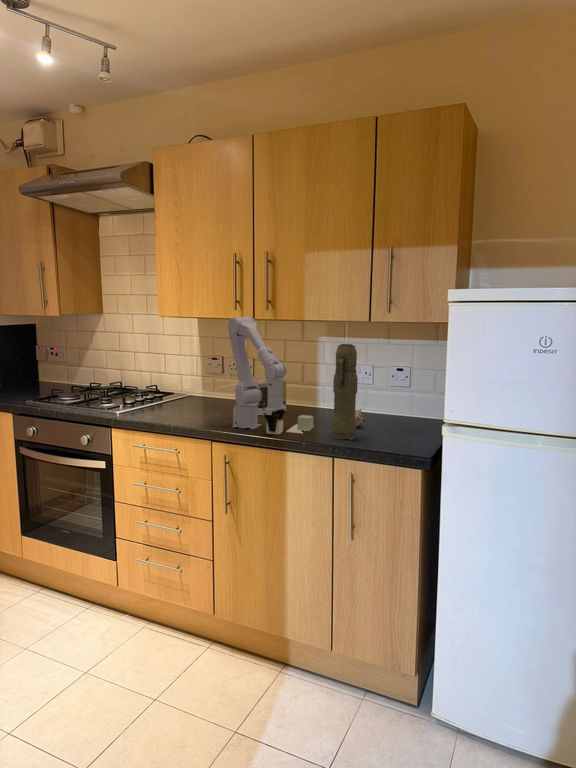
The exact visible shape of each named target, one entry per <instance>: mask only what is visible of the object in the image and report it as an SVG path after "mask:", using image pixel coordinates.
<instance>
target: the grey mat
mask: <svg viewBox="0 0 576 768" xmlns="http://www.w3.org/2000/svg"><path fill="white" fill-rule="evenodd" d="M301 431H303V430H298V423H296V424H294V425H293V426H291V427H290V428H289V429H287V430H286V431H285V433H291V434H292V433H294V434H303V432H301Z"/></svg>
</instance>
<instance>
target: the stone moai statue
mask: <svg viewBox="0 0 576 768" xmlns="http://www.w3.org/2000/svg"><path fill="white" fill-rule="evenodd" d="M356 348H357V347H356V346H355V345H353V344H351V343H341V344H339V345H337V348H336V351H335V371H334V372H335V373H334V375H333V388H332V389H333V394H334V395H333V396H334V397H333V398H334V399H333V404H334V405H333V418H332V421H331V422H332V423H331V432H332V433H331V434H332V435H333V437H336V438H343V439H348V438H354V437H355V438H356V433H357V429H356V428H357V427H356V419H355V410H356V402H357V401H356V399H357V398H356V397H357V393H358V383H359V382H358V380H359V379H358V375H357V359H358V357H357V356H358V355H357V354H358V353H357V352H358V351H357V349H356Z"/></svg>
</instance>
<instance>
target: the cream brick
mask: <svg viewBox="0 0 576 768" xmlns="http://www.w3.org/2000/svg"><path fill="white" fill-rule="evenodd" d="M265 428H266V431H265V432H266V434H267V435H280V434H282V433H283V432H284V420H283V419H282V420H278V419H277V424H276V430H275V432H271V431H269V427H268V423H267V421H266V427H265Z"/></svg>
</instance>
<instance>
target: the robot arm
mask: <svg viewBox="0 0 576 768" xmlns="http://www.w3.org/2000/svg"><path fill="white" fill-rule="evenodd" d="M226 325H227V330H228V335H229V341H230V342H229V343H230V346H231V351H232V355H233V360H234V364H235V365H234V366H235V368H236V369H235V370H236V374H237V378H238V383H237V385H236V386H235V388H234V392H235V395H234V397H235V402H236V403H235V405H234V406H233V410H232V428H235V427H239V428H238V429H245V428H250V429H249V430H254V429H257V428H258V427H260V426H261V425H262V424H261V423H258V417H259V416H258V405H259V402H260V401H261V399H262V393H261V390H260V389H259V386H258V384H257V383H256V382H255V381H256V380H254V379H253V377H252V372H251V365H250V362H249V358H248V353H247V347H246V345H245V341H246V340H247V339H249V341H250V342H251V344H252V345H253V346H254V347H255V349H256V350H257V355H256V356H257V358H258V359H259V360H260V362H261V365H262V366H263V368H264V371H263V373H264V376H265V378H266V379H267V383H268V406H267V409H266V413H264V415H263V417H264V418H265V419H266V422H267V423H268V427H269V431H271V432H275V430H276V424H277V419H278V420H283V418H284V416H285V414H286V412H285V410H283V409H285V407H284V406H283V381H284V377H286V375H287V368H286V365H285V364H284V363H283V362H281V361H280V360H278V359H277V357H276V356H275V354H274V352H273V349H272V348H271V347H268V346H266V345H265V343H264V340H263V339H262V337H261V335H260V333H259V331H258V323H257V322H256V320H255V318H254V317H252V316H248V317H247V316H245V317H244V316H243V317H239V316H238V317H236V316H233V317H230V319H229V321H228V323H227V324H226ZM266 379H265V380H266ZM247 388H249V389H247Z"/></svg>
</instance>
